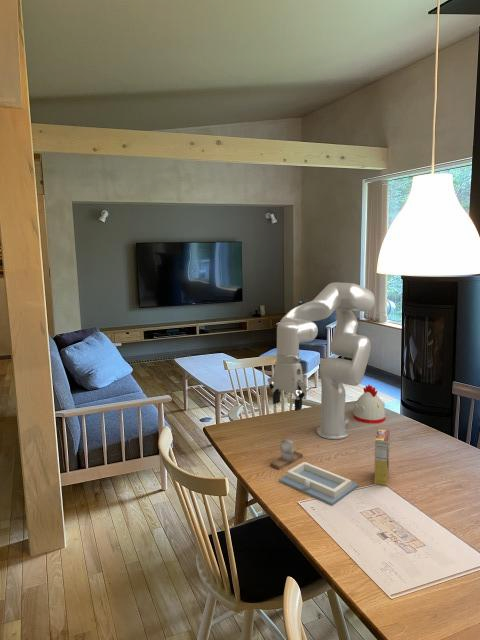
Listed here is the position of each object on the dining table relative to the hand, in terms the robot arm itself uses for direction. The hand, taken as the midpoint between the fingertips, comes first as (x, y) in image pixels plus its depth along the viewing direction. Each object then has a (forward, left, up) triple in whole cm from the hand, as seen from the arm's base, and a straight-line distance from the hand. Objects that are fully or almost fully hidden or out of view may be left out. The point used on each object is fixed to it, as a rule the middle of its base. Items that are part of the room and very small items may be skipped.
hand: (287, 406), depth 159 cm
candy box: (-12, +30, -21) cm, 38 cm away
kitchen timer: (-58, 0, -21) cm, 62 cm away
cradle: (+5, +17, -21) cm, 27 cm away
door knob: (0, 0, -21) cm, 21 cm away
